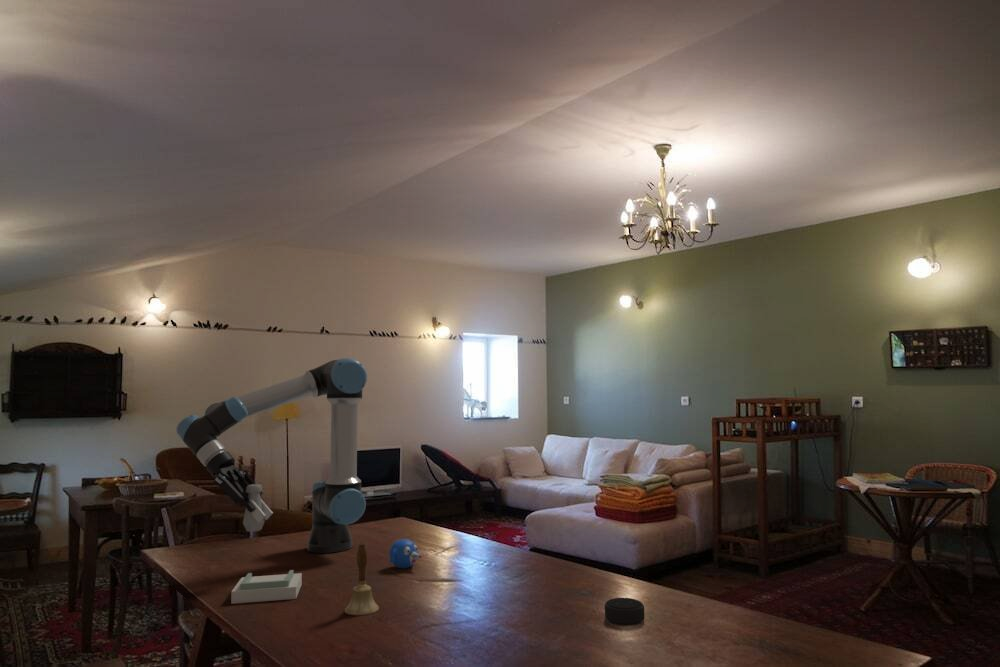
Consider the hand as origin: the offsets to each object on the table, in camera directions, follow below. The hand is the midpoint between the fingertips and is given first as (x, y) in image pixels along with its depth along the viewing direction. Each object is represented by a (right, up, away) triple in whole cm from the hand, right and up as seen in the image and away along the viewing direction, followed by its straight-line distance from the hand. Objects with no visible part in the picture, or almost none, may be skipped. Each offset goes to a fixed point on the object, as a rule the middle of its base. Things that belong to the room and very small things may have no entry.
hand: (265, 517), depth 195 cm
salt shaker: (-4, -4, +1) cm, 6 cm away
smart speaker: (+96, -13, -41) cm, 105 cm away
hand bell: (+34, -15, -29) cm, 47 cm away
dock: (+5, -17, -13) cm, 22 cm away
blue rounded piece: (+40, -18, +9) cm, 45 cm away
